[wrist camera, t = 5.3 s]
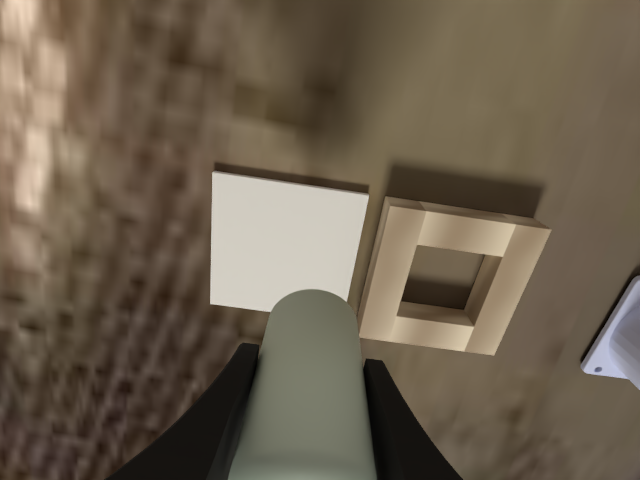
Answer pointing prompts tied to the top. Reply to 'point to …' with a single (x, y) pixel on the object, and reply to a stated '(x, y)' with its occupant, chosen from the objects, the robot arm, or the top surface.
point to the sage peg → (307, 396)
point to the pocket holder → (457, 234)
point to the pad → (280, 239)
